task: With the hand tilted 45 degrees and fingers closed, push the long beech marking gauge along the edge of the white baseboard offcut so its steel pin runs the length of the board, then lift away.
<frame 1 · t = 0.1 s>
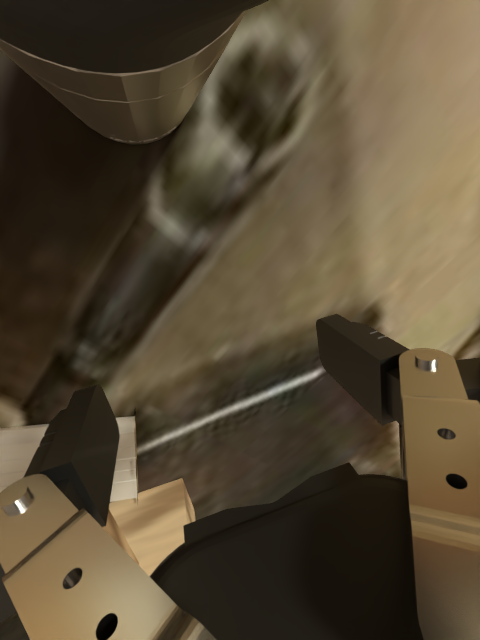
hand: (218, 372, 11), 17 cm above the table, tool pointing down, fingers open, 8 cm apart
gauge: (138, 511, 37), on the table
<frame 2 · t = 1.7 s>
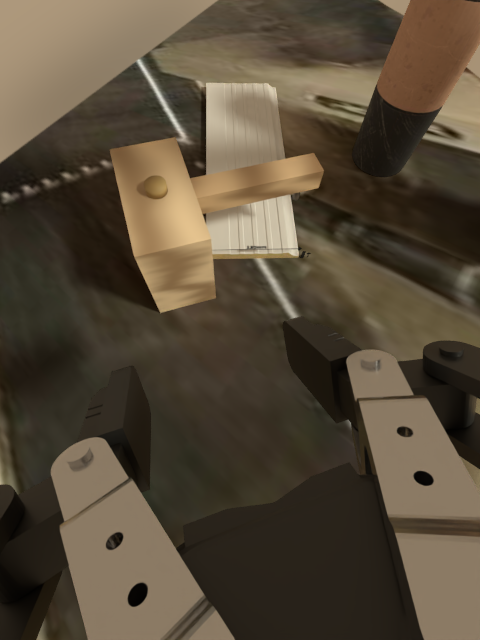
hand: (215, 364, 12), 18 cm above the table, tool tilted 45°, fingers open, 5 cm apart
travel mug: (377, 159, 43), on the table
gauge: (175, 259, 36), on the table
baseboard: (251, 166, 43), on the table
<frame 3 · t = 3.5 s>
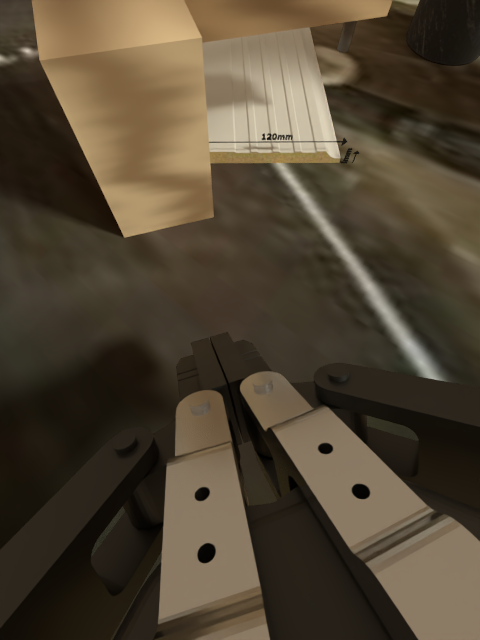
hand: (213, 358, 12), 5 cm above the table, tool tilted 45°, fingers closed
travel mug: (441, 46, 31), on the table
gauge: (151, 164, 23), on the table
baseboard: (264, 54, 30), on the table
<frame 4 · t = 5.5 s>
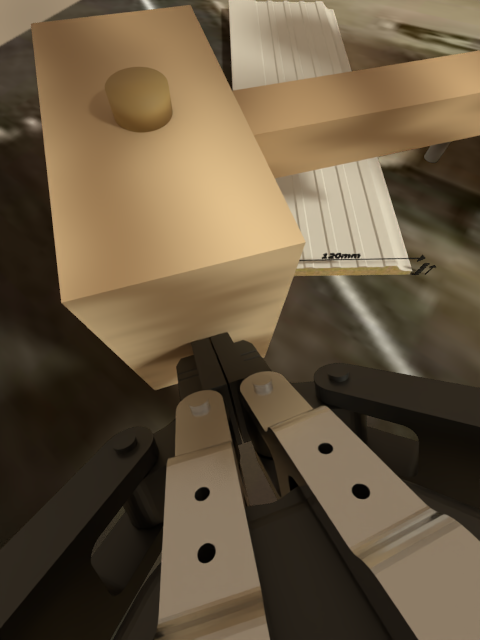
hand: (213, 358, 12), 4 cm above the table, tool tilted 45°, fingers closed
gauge: (184, 279, 19), on the table, touching gripper
baseboard: (305, 121, 26), on the table
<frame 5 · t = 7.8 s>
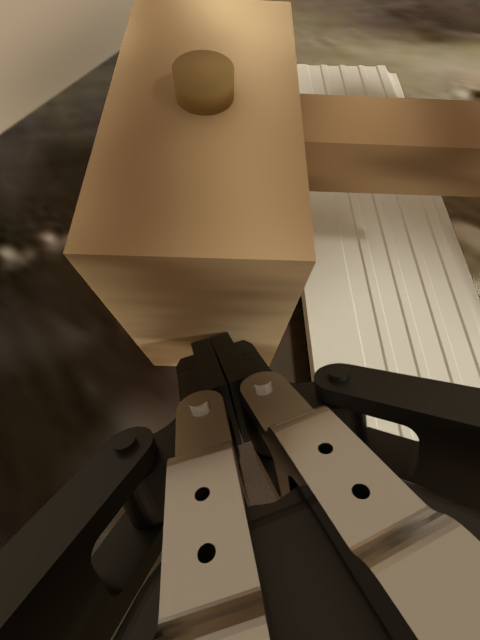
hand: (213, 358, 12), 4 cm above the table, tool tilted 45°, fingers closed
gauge: (216, 269, 19), on the table, touching gripper
baseboard: (375, 225, 22), on the table
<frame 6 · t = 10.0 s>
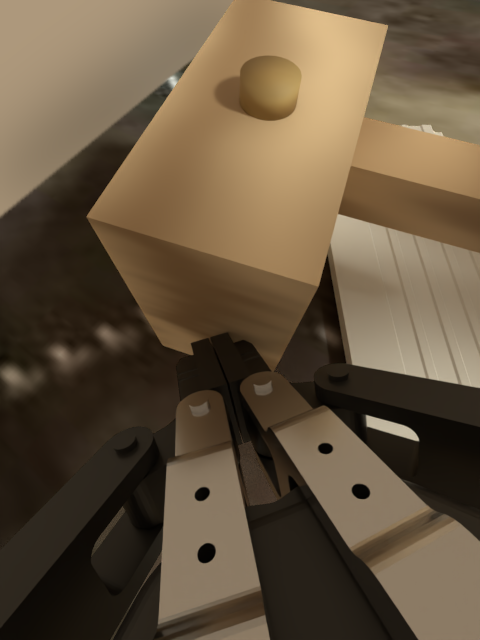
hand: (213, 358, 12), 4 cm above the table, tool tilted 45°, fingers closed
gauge: (249, 271, 19), on the table, touching gripper
baseboard: (432, 323, 19), on the table
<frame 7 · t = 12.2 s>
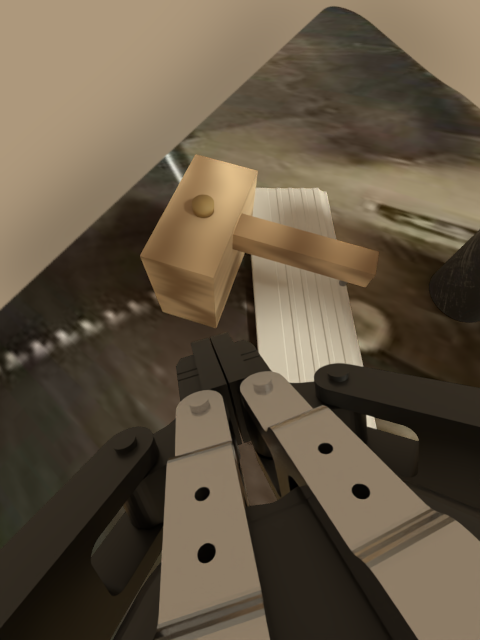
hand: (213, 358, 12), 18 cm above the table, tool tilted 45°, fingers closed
travel mug: (458, 295, 36), on the table
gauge: (208, 274, 36), on the table
baseboard: (306, 300, 36), on the table
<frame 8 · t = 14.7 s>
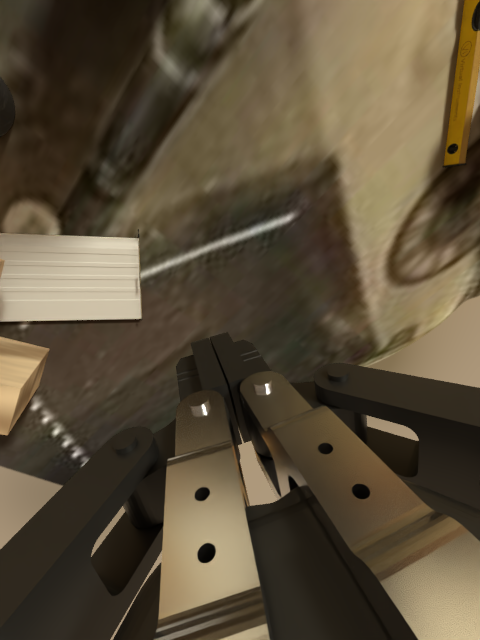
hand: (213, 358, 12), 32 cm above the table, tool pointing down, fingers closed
baseboard: (8, 270, 38), on the table
spirit level: (461, 27, 42), on the table
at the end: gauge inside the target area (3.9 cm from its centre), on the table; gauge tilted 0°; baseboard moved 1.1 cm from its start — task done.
